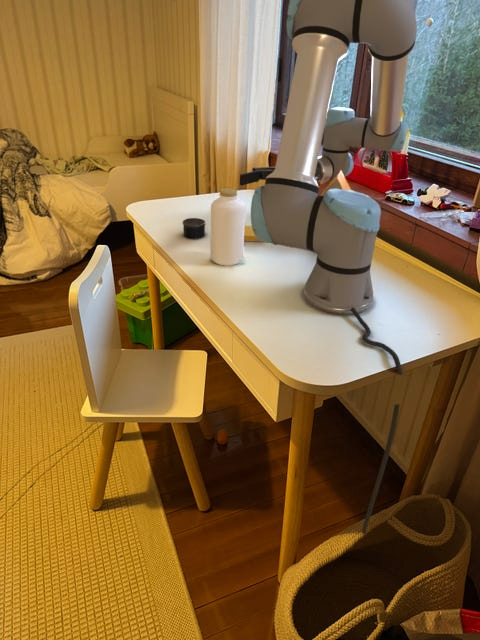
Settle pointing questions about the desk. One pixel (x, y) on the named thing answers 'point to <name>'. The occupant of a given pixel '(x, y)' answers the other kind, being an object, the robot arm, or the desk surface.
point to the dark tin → (194, 228)
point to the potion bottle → (227, 228)
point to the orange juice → (337, 183)
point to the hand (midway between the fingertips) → (259, 186)
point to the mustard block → (249, 234)
